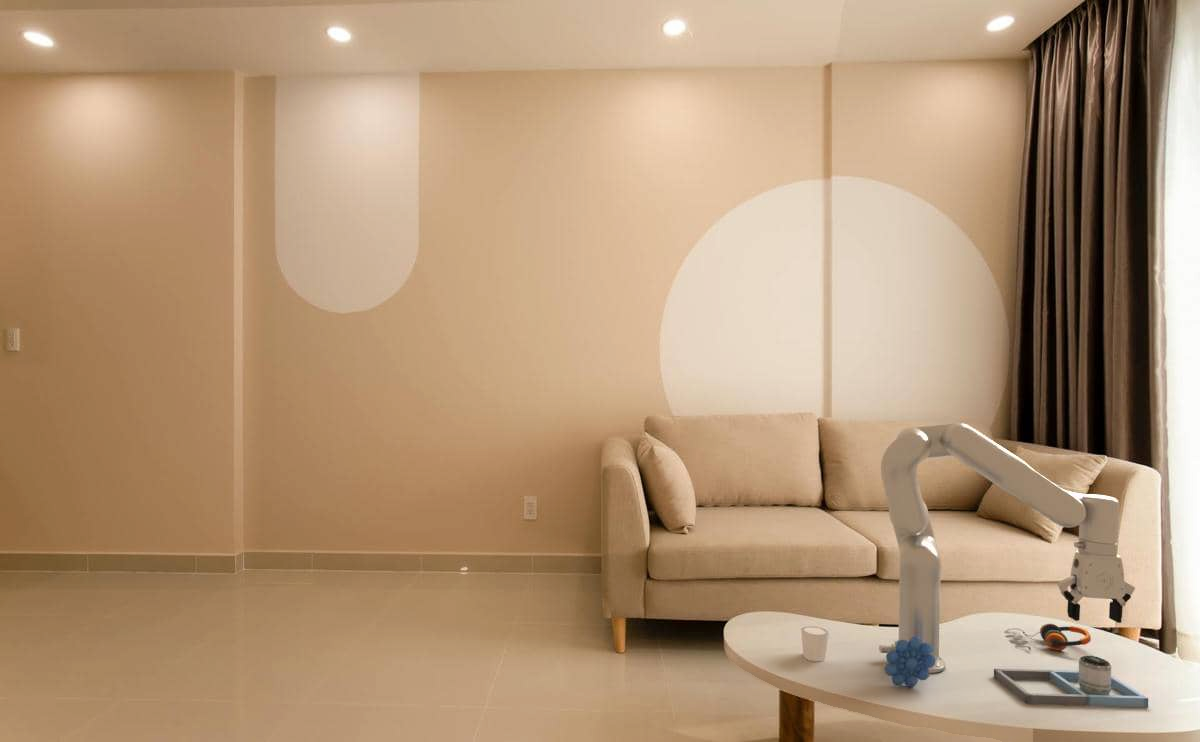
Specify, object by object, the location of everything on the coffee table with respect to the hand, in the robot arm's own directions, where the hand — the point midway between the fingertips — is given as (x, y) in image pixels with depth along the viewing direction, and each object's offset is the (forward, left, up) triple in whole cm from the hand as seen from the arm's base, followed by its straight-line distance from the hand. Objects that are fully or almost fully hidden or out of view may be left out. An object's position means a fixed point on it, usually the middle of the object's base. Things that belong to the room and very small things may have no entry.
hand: (1094, 619), depth 165 cm
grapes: (-43, +1, -17) cm, 46 cm away
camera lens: (0, 0, -17) cm, 17 cm away
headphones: (+7, +28, -17) cm, 34 cm away
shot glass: (-61, +16, -17) cm, 65 cm away
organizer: (-6, 0, -17) cm, 18 cm away
